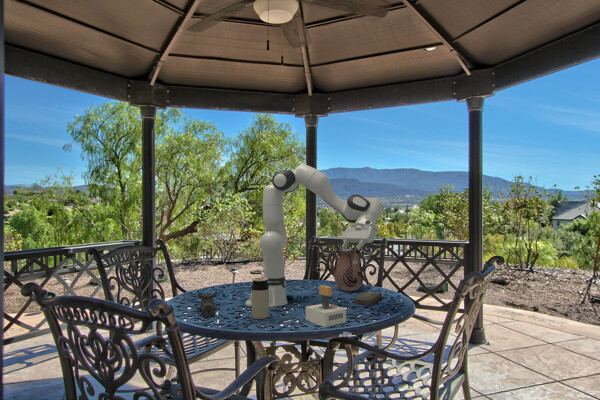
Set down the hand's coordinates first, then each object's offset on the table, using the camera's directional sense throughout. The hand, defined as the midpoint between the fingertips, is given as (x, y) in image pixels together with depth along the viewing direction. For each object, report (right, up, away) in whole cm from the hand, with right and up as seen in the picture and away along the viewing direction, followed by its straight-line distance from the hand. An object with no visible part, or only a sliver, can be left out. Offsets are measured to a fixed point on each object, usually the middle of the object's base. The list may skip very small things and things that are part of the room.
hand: (350, 248), depth 189 cm
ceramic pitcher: (+4, -33, +56) cm, 65 cm away
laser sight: (-70, -33, +7) cm, 78 cm away
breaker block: (-13, -31, -11) cm, 36 cm away
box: (+13, -33, +27) cm, 45 cm away
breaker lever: (-13, -25, -11) cm, 30 cm away
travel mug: (-43, -32, -4) cm, 54 cm away
